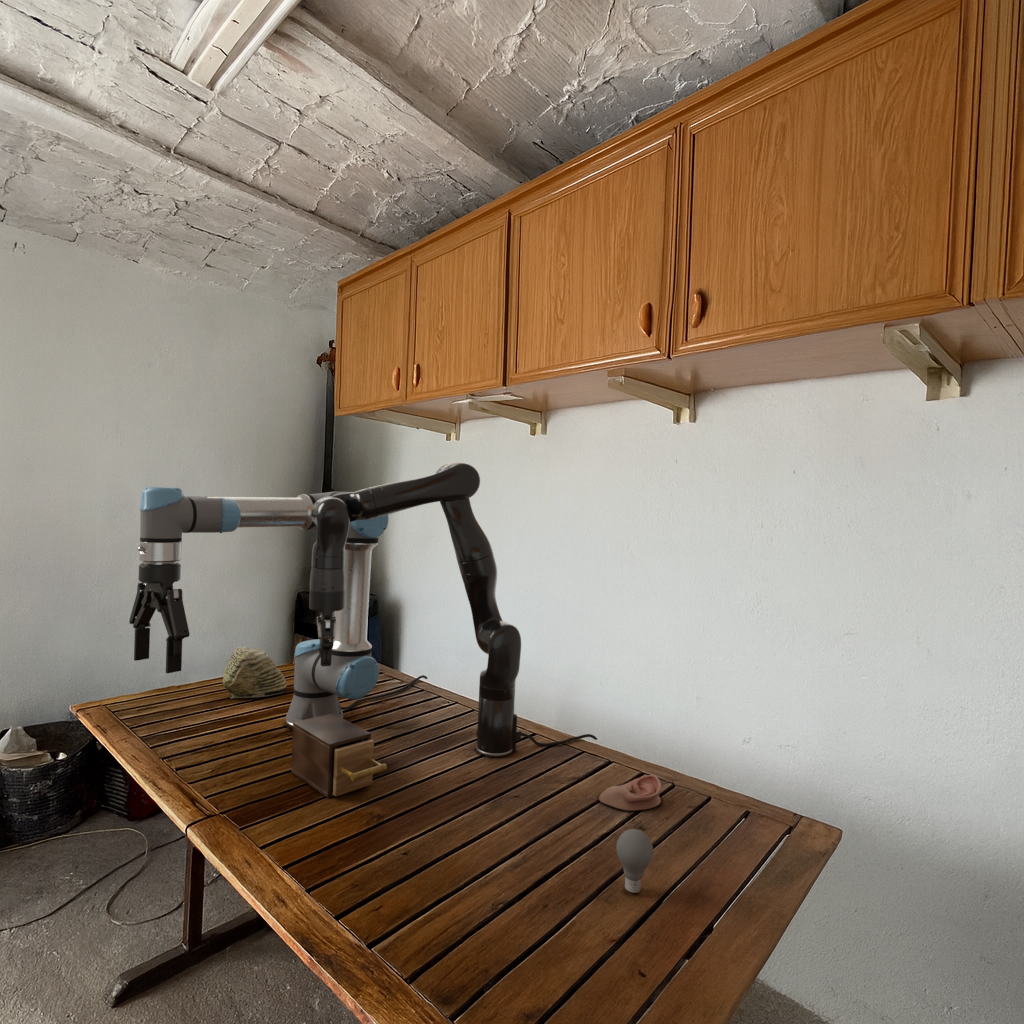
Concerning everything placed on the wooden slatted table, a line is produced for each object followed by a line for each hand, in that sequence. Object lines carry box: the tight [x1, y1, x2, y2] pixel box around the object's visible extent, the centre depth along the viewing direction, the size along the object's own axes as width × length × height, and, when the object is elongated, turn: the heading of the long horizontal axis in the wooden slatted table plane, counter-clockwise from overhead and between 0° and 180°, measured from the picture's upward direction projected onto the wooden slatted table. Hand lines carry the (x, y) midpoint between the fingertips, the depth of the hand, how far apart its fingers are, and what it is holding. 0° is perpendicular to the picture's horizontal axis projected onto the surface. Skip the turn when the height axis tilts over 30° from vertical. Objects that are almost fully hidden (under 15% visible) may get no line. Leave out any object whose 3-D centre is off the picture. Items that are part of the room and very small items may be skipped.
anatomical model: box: [598, 774, 663, 812], centre depth 139 cm, size 13×4×12 cm
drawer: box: [331, 739, 388, 797], centre depth 139 cm, size 21×9×10 cm, turn 45°
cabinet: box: [290, 713, 372, 799], centre depth 143 cm, size 17×10×11 cm, turn 45°
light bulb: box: [615, 828, 654, 894], centre depth 106 cm, size 6×6×10 cm
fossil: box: [222, 646, 288, 699], centre depth 198 cm, size 9×18×15 cm, turn 132°
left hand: (157, 665), depth 130 cm, fingers open, 13 cm apart
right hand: (325, 660), depth 140 cm, fingers open, 8 cm apart
